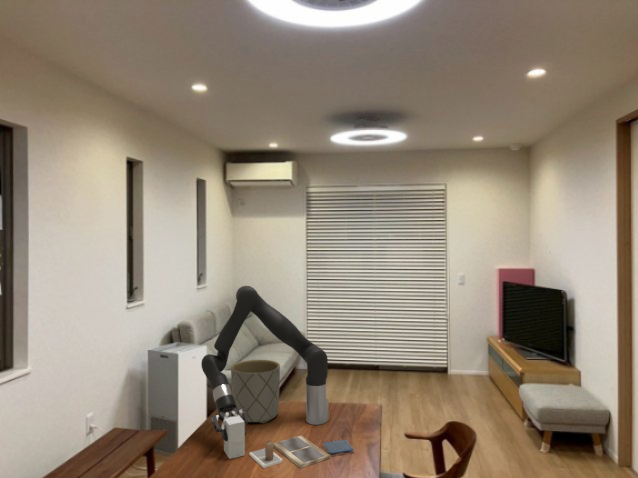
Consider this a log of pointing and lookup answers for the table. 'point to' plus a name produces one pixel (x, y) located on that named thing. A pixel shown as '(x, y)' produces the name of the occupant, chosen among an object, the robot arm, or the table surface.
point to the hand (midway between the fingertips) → (235, 437)
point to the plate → (266, 456)
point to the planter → (256, 388)
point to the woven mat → (338, 447)
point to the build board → (301, 451)
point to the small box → (235, 437)
